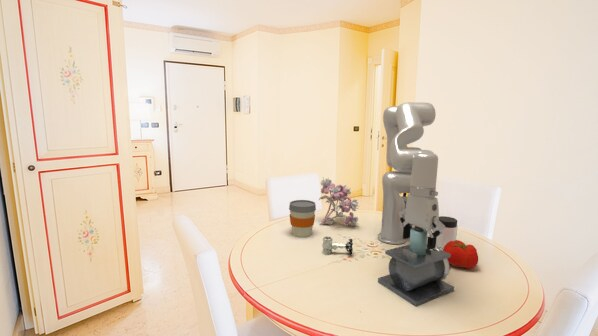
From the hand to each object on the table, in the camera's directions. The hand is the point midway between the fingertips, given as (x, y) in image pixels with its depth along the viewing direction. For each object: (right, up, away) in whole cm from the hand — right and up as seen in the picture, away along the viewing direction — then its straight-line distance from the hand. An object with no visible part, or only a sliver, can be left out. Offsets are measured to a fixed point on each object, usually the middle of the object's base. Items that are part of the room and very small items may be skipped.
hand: (418, 243), depth 105 cm
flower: (-17, -5, +63) cm, 65 cm away
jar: (+26, -10, +38) cm, 46 cm away
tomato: (+23, -13, +19) cm, 32 cm away
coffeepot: (+14, -6, +61) cm, 63 cm away
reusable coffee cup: (-37, -7, +49) cm, 62 cm away
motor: (0, -15, +2) cm, 15 cm away
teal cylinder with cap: (0, -3, +1) cm, 3 cm away
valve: (-23, -11, +27) cm, 38 cm away
